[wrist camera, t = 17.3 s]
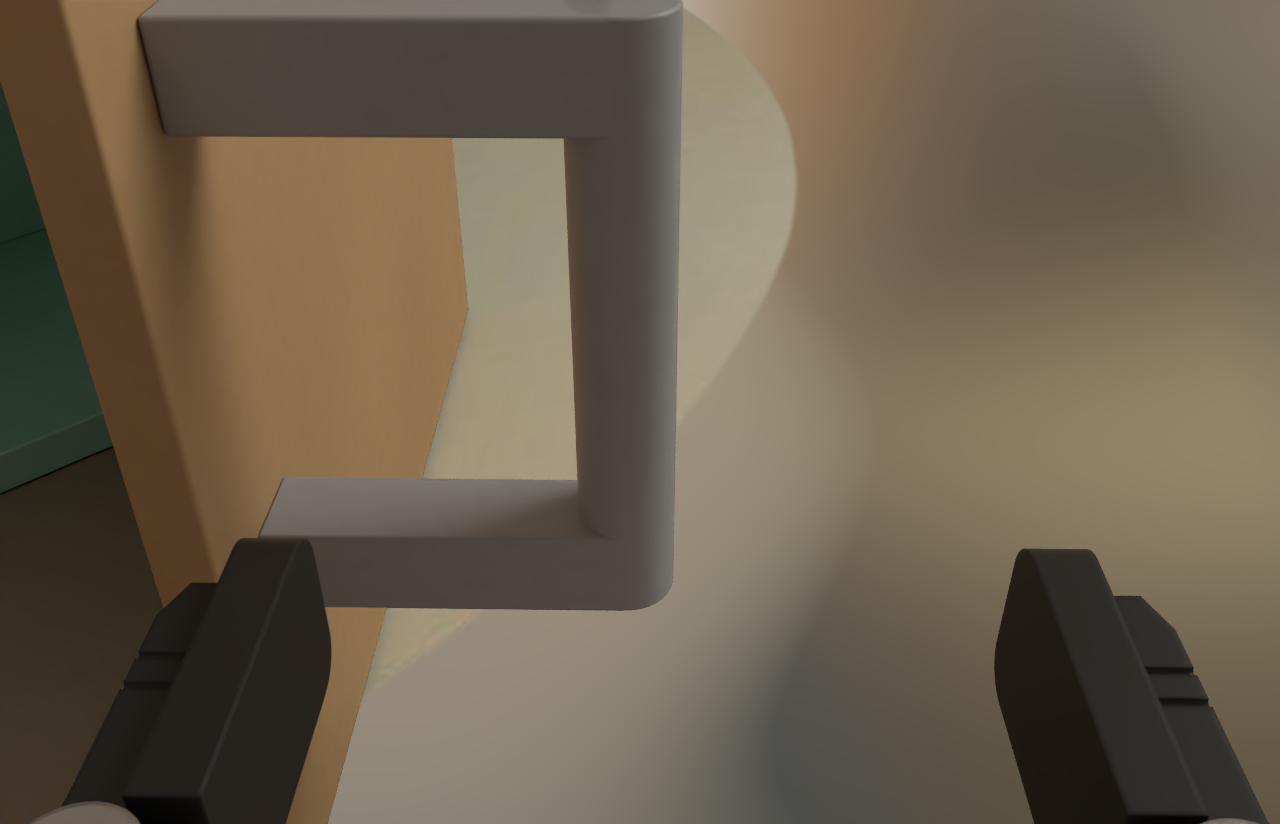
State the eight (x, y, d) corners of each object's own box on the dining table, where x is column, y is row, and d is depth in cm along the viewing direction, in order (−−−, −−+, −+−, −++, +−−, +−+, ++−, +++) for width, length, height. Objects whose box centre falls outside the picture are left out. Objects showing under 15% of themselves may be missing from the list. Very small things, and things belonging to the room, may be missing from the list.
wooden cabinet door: (669, 312, 41) (680, -507, 28) (669, 913, 23) (699, -656, 10) (439, 310, 41) (349, -506, 29) (253, 906, 23) (-230, -649, 10)
